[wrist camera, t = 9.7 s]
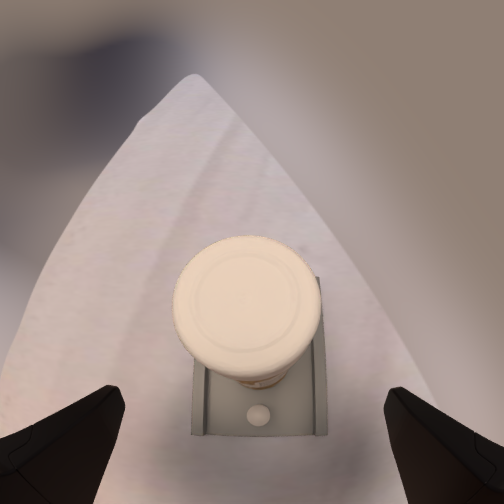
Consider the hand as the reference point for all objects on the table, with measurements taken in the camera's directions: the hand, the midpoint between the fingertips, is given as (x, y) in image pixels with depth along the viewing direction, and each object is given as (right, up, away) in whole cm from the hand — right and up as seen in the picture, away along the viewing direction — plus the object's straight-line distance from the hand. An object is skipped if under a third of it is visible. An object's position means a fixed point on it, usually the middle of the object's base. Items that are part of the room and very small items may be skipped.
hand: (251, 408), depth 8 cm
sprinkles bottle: (+1, -3, +12) cm, 12 cm away
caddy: (+1, -3, +13) cm, 13 cm away
